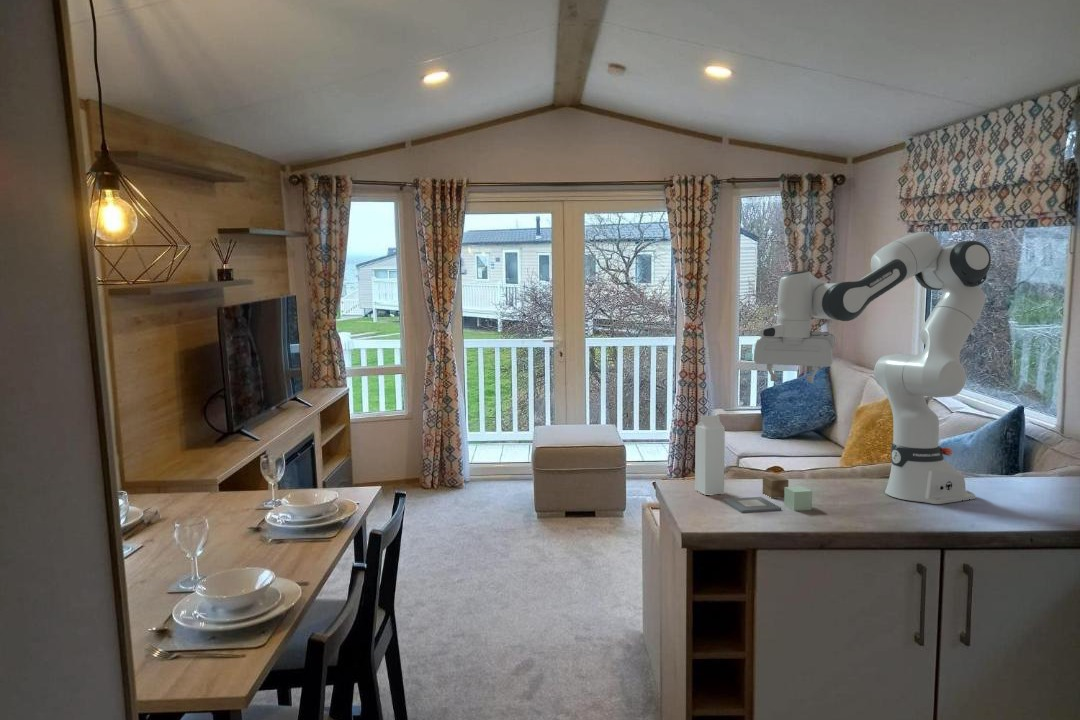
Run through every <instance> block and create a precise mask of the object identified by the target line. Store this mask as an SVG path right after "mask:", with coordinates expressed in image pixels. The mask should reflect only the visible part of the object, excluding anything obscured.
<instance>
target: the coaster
mask: <svg viewBox="0 0 1080 720" xmlns="http://www.w3.org/2000/svg"><path fill="white" fill-rule="evenodd" d="M722 501H723V502H724V503H726V504H727V505H729V506H731V507H732V508H734V509H735V510H737V511H738V512H739V513H742V514H743V513H759V512H774V511H775V512H776V511H782V507H781V506H779V505H777V504H775V503H773V502H771V501H769V500H768V499H766V498H764V497H763V496H754V497H753V496H750V497H748V496H747V497H736V498H735V497H733V498H723V499H722Z"/></svg>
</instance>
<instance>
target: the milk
mask: <svg viewBox="0 0 1080 720" xmlns="http://www.w3.org/2000/svg"><path fill="white" fill-rule="evenodd" d="M720 417H721V416H720V415H719V414H718V415H717V414H716V415H713V414H712V415H701V416H700V420H699V422H697V424H696V425H695V434H694V435H695V441H694V442H695V445H694V446H695V448H694V450H695V455H694V457H695V458H694V459H695V461H694V463H695V464H694V465H695V467H694V471H695V472H694V491H695V490H698V491H700V492H702V493H703V494H721V495H725V447H726V446H725V444H726V443H725V441H726V439H725V437H726V434H725V433H726V432H725V431H726V430H725V429H726V428H725V426H724V425H723V424H722V422H721V419H720Z"/></svg>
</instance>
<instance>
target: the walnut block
mask: <svg viewBox="0 0 1080 720" xmlns="http://www.w3.org/2000/svg"><path fill="white" fill-rule="evenodd" d="M785 487H789V479H787V478H786V477H783V476H782V475H769V476H767V475H766V476H762V495H764V494H765V495H764V496H766V495H767V496H766V497H768V496H769V497H768V498H770V497H771V498H770V499H776V498H775V497H784V490H785Z"/></svg>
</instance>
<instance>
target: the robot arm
mask: <svg viewBox="0 0 1080 720" xmlns="http://www.w3.org/2000/svg"><path fill="white" fill-rule="evenodd" d="M870 259H871V260H870V270H871V272H870V273H868V274H867V275H865V276H863V277H862V278H859V280H856V281H843V282H833V283H830V282H829V283H828V282H826V281H823V280H821V279H819V278H817V277H816V276H815V275H813V274H812V273H811V271H810V270H806V269H805V270H797V271H796V270H795V271H789V272H786V273H784V274H783V275H782V276H781V277H780V280H779V284H778V289H777V307H778V314H777V315H776V316H777V317H776V324H775V325H769V326H767V327H764V328H761V329H759V331H758V334H759V337H760V338H757V340H756V342H755V346H754V349H753V362H754V363H755V364H759V365H766V369H767V371H768V373H769V375H770V382H777V380H778V378H777V377H778V375H777V374H776V373H774V372H773V370H772V369H773V368H774V365H782V366H801V367H802V366H804V367H811V370H812V371H813V372H812V373H811V375H807V376H806V378H807V380H806V383H807V384H814V377H815V376H816V374H817V373H818V372H819V367H826V368H827V367H830V366H832V365H833V362H834V354H833V348H834V346H835V344H836V339H835V338H836V337H835V336H834V335H833V334H832V333H829V331H816V330H815V331H812V318H815V319H822V320H834V321H835V320H836V321H842V322H849V321H853V320H854V319H857V318H858V317H859V316H860V315H861V314H862V313H863V312H864V310H865V309H866V308H867V306H868V305H869V304H870V303H871V302H873V301H875V300H876V299H877V298H879V297H881V296H882V295H883V294H886V293H887V292H888V291H890V290H891V289H893V288H894V287H896V286H897V285H899V284H901V283H903V282H905V281H907V280H909V279H910V278H913V277H915V279H916V282H917V283H919V285H920V286H921V287H922V288H923V289H926V290H928V291H929V290H930V291H940V290H942V291H941V296H940V298H939V301H938V302H937V303H936V305H935V306H934V308H933V309H932V311H931V312H930V314H929V316H928V317H927V319H926V320H925V322H924V324H923V325H922V327H921V328H920V331H919V335H920V341H921V342H922V344H924V349H923V351H922V352H920V353H919V354H911V353H900V352H899V353H894V354H893V353H892V354H888V355H887V354H886V355H884V356H881V357H879V359H878V360H877V361H876V363H875V366H874V369H873V377H874V381H875V382H876V383H877V385H878V386H879V387H880V388H881V390H883V392H884V394H885V395H886V397H887V399H888V402H889V405H890V409H891V412H892V420H893V421H892V423H893V428H892V429H893V431H892V432H893V433H892V437H893V438H892V443H891V446H890V459H891V466H890V467H891V468H890V472H889V473H890V474H889V477H888V481H887V486H886V488H885V491H884V493H885V494H886V495H888V496H890V497H893V498H896V499H900V500H904V501H905V500H906V501H909V502H910V501H911V502H919V503H920V502H921V503H926V504H933V505H942V504H949V503H955V502H963V501H968V500H969V499H970V500H975V499H976V495H975V494H974V493H973V491H972V492H971V491H970V490H967V488H966V480H965V477H964V475H963V473H961V472H960V471H959V470H957V468H955V467H953V465H952V464H950V463H949V462H948V461H946V460H945V458H944V455H946V456H952V454H953V450H952V448H949V447H945V446H944V447H941V446H940V445H939V436H940V435H939V434H940V420H939V417H938V415H937V414H936V413H935V412H934V411H933V410H932V409H931V408H930V407H929V406H928V403H927V400H926V398H925V397H927V398H928V397H929V398H937V399H938V398H947V397H955V396H956V395H958V394H959V393H961V392H962V390H963V389H964V388H965V385H966V383H967V373H966V370H965V367H964V366H963V364H962V363H961V361H960V356H961V355H960V354H961V351H962V348H963V346H964V344H965V343H966V341H967V339H968V337H969V335H970V334H971V332H972V331H973V329H974V327H975V326H976V324H977V322H978V321H979V319H980V318H981V317H980V316H981V315H982V311H983V309H984V306H985V302H986V294H985V292H984V290H983V289H982V288H981V287H979V286H980V285H982V284H983V283H984V282H985V281H986V280H987V274H988V272H989V271H990V268H991V263H992V257H991V253H990V250H989V248H988V247H987V246H986V244H983V243H982V242H980V241H977V240H964V241H960V242H958V243H955V244H951V245H949V246H946V247H943V246H941V243H940V241H939V239H938V238H937V237H936V236H935V234H933V233H931V232H927V231H918V232H914V233H911V234H908V235H905V236H903V237H900V238H897V239H896V240H894V241H891V242H890V243H888V244H886V245H884V246H882V247H880V249H878V250H877V251H876V252H875V253H874V254H873V255H872V256H871V258H870ZM962 500H963V501H962ZM970 500H969V501H970Z"/></svg>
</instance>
